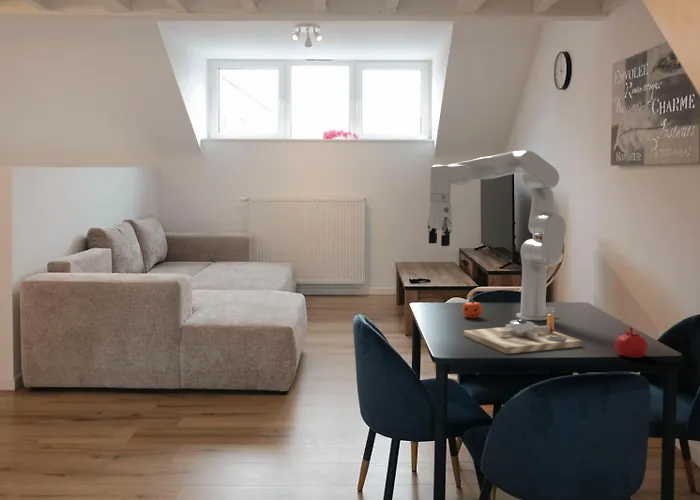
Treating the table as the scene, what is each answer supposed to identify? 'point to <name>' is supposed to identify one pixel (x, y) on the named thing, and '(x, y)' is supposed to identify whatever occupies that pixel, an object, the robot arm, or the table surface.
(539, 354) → the table surface
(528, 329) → the cylinder
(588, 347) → the table surface
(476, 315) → the pumpkin
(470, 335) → the wooden board
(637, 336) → the pomegranate
